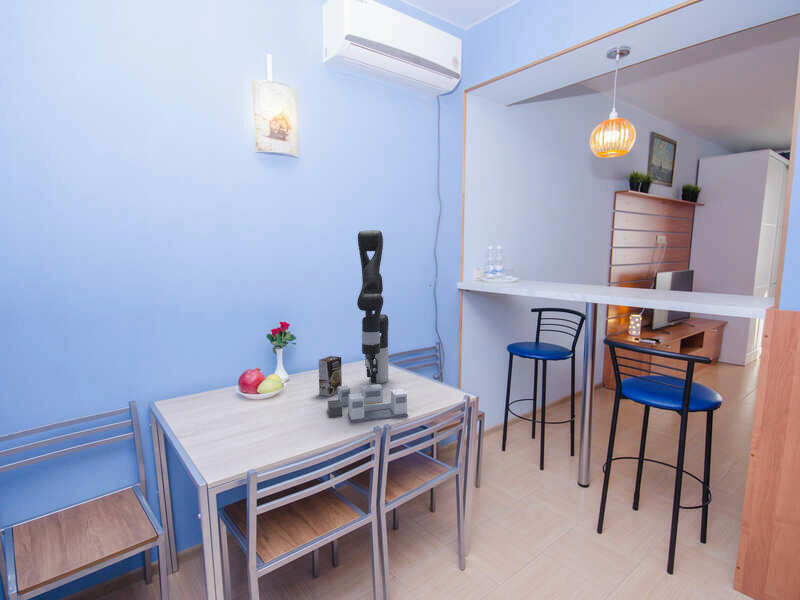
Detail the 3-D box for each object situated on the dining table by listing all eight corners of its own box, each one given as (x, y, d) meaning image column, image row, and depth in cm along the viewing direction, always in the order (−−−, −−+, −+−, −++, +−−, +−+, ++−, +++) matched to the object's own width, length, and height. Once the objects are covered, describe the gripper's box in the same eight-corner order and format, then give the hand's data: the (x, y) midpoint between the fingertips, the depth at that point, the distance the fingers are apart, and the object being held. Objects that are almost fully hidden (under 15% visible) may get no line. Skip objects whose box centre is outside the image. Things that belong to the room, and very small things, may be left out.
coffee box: (330, 397, 184) (329, 361, 182) (318, 394, 187) (317, 359, 185) (342, 390, 192) (341, 356, 190) (331, 388, 195) (330, 355, 193)
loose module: (361, 404, 175) (361, 385, 174) (380, 402, 177) (379, 384, 177) (363, 408, 170) (363, 389, 169) (382, 406, 173) (382, 387, 172)
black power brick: (327, 410, 169) (327, 400, 169) (340, 409, 170) (339, 399, 170) (329, 418, 162) (329, 408, 161) (342, 416, 163) (342, 406, 162)
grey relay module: (337, 402, 177) (337, 386, 176) (346, 400, 179) (346, 385, 178) (341, 406, 173) (341, 390, 172) (350, 405, 174) (350, 388, 173)
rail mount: (348, 413, 165) (347, 392, 164) (401, 407, 171) (401, 387, 170) (351, 422, 156) (351, 400, 155) (407, 416, 162) (407, 394, 161)
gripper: (358, 339, 177) (359, 376, 178) (365, 346, 163) (365, 386, 165) (376, 337, 179) (376, 374, 180) (383, 344, 165) (384, 384, 167)
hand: (371, 380), depth 173 cm, fingers open, 8 cm apart
